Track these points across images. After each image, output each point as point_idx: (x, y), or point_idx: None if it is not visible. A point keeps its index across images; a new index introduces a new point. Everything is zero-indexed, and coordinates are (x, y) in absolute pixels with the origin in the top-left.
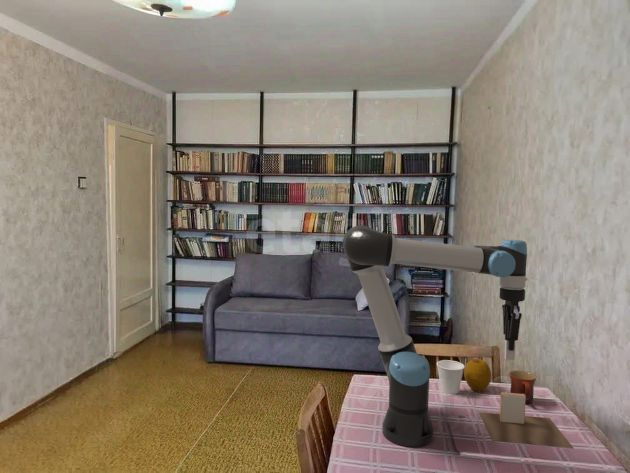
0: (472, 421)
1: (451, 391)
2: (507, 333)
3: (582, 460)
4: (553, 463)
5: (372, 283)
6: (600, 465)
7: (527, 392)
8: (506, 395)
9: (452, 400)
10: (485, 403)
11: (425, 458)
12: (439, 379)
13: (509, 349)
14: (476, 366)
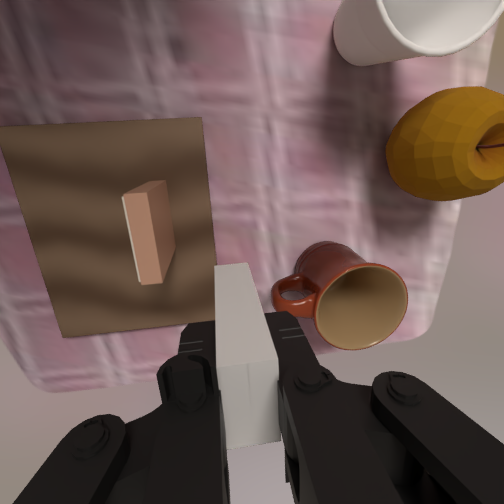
0: (151, 87)
1: (338, 22)
2: (211, 467)
3: (35, 340)
4: None
5: None
6: (29, 369)
7: (272, 296)
8: (125, 211)
9: (305, 34)
10: (301, 159)
11: None
12: None
13: (183, 330)
14: (451, 132)
